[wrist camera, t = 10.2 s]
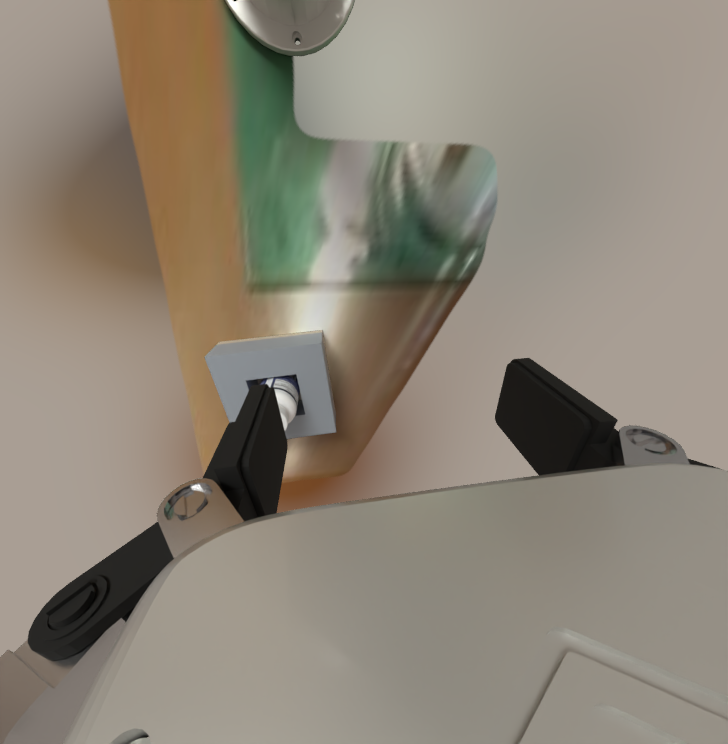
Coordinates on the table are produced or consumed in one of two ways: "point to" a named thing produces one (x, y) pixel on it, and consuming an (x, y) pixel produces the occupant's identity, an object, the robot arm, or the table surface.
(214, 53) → the table surface
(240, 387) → the socket block
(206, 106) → the table surface
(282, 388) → the pill bottle
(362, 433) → the table surface
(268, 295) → the table surface
